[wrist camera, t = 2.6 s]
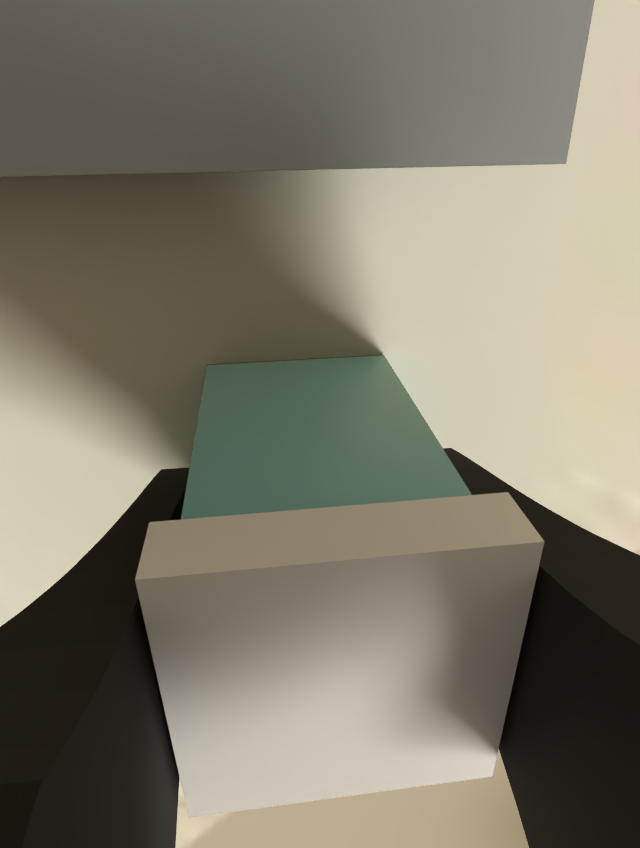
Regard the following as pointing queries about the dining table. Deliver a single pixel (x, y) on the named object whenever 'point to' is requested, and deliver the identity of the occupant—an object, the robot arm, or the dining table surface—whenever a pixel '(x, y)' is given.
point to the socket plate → (286, 84)
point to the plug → (330, 594)
